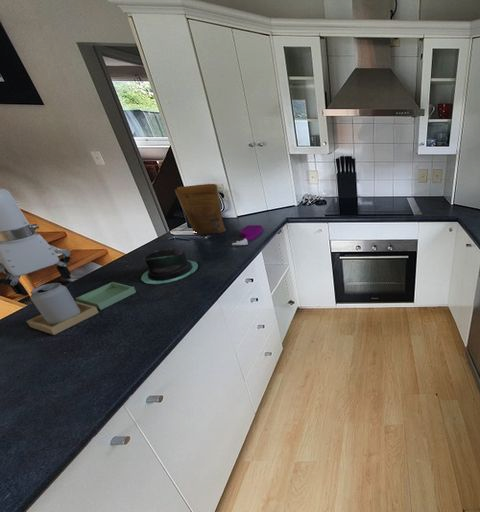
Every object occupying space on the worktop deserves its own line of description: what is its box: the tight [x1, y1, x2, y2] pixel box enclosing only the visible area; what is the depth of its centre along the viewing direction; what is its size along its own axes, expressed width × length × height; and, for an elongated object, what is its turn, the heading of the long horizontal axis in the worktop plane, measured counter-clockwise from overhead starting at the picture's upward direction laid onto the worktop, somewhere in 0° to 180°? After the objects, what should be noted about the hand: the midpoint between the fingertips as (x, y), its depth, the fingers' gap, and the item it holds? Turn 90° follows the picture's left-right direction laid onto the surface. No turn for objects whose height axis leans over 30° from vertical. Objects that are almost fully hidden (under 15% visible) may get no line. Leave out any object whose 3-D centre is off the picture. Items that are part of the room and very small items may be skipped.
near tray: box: [26, 300, 100, 336], centre depth 88 cm, size 11×11×2 cm
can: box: [29, 282, 80, 325], centre depth 86 cm, size 8×8×12 cm
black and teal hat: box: [140, 248, 199, 285], centre depth 117 cm, size 15×19×20 cm
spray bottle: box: [231, 224, 264, 246], centre depth 152 cm, size 3×11×24 cm
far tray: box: [74, 281, 137, 311], centre depth 99 cm, size 11×11×2 cm
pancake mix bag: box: [174, 183, 227, 236], centre depth 151 cm, size 7×19×28 cm, turn 112°
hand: (46, 285), depth 83 cm, fingers open, 9 cm apart
